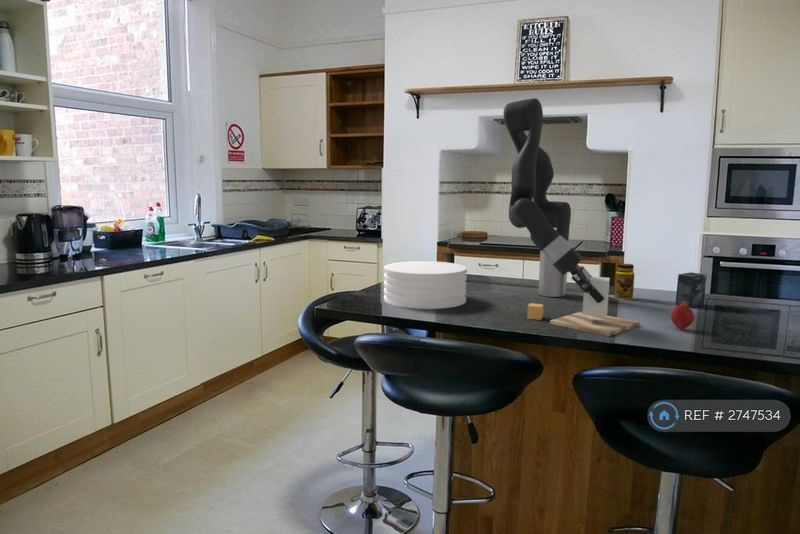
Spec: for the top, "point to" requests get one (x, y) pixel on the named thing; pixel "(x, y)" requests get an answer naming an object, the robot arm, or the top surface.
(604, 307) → the light grey rectangular block
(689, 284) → the box
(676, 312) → the onion
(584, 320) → the board
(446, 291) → the plate stack
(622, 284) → the condiment
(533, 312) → the fully visible block
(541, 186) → the robot arm
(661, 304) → the top surface
